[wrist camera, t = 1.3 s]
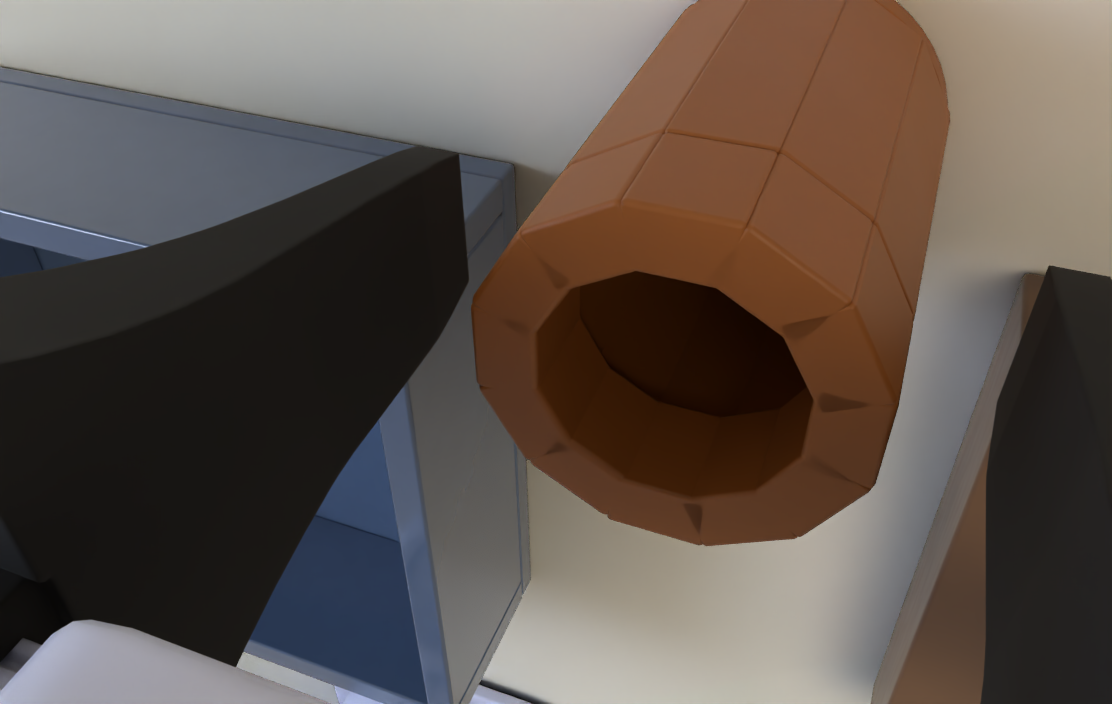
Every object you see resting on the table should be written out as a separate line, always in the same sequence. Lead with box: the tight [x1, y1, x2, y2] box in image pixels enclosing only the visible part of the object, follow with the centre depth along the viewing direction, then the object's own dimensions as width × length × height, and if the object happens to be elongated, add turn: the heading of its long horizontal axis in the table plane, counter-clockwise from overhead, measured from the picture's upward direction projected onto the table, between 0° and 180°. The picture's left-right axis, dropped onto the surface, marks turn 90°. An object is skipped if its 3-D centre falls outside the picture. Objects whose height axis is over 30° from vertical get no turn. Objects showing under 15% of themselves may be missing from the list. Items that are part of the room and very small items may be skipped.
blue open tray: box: [0, 67, 531, 704], centre depth 22 cm, size 12×13×5 cm
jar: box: [471, 0, 950, 546], centre depth 13 cm, size 5×5×7 cm
